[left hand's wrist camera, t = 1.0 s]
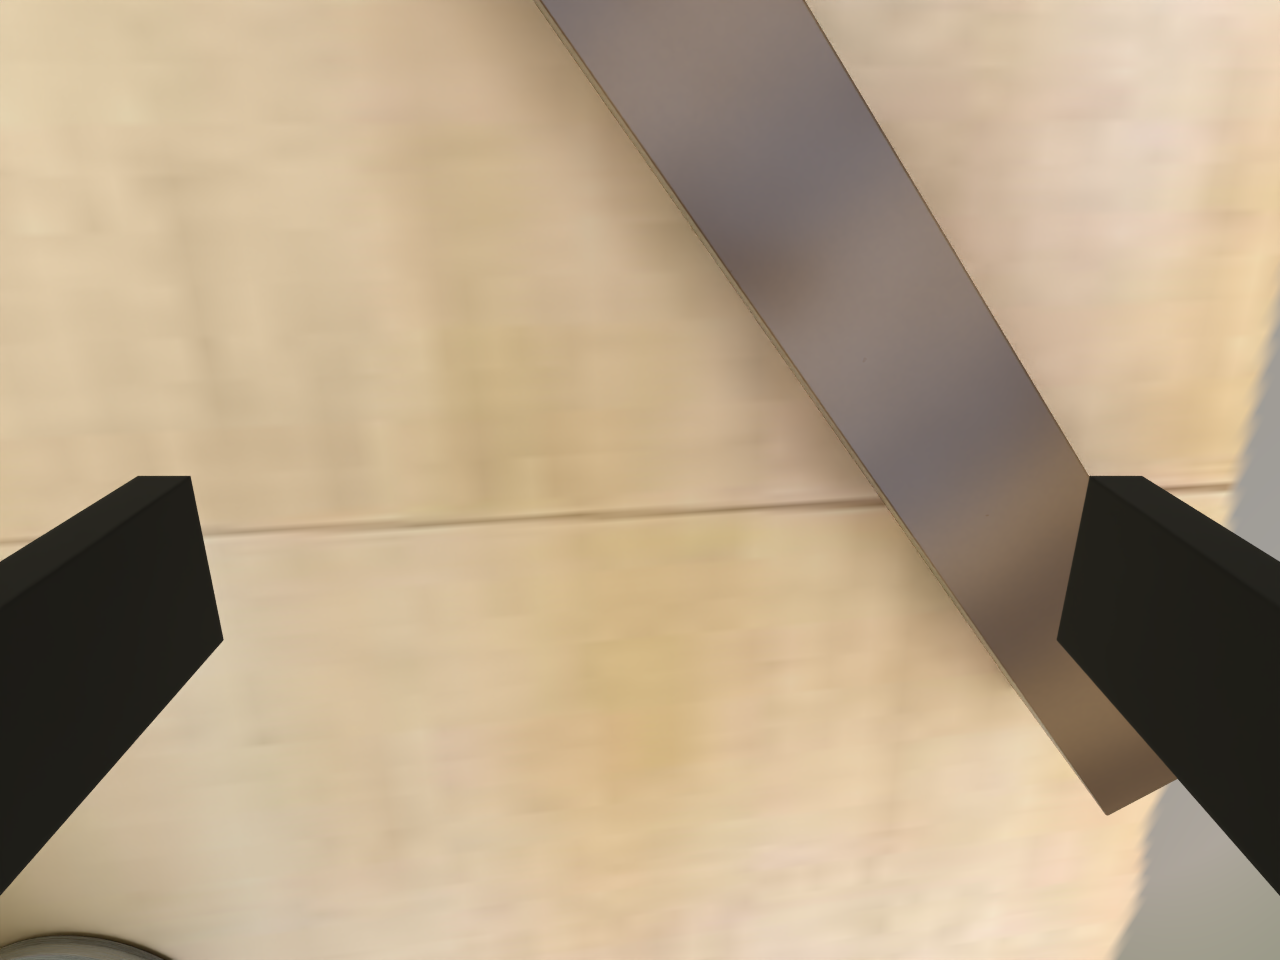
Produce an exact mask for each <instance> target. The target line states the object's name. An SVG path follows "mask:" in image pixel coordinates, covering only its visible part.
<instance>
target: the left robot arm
mask: <svg viewBox="0 0 1280 960" xmlns="http://www.w3.org/2000/svg"><path fill="white" fill-rule="evenodd" d="M222 641H223V635H222V630H221V625H220V620H219V615H218V610H217V605H216V600H215V595H214V590H213V585H212V580H211V575H210V570H209V565H208V560H207V556H206V551H205V546H204V541H203V536H202V531H201V526H200V521H199V516H198V511H197V506H196V501H195V496H194V491H193V486H192V481H191V476H137V477H136V478H134V479H132V480H131V481H129V482H128V483H126V484H124V485H123V486H121V487H120V488H118V489H116V490H115V491H113V492H112V493H110V494H108V495H107V496H105V497H103V498H102V499H100V500H99V501H97V502H95V503H94V504H92V505H91V506H89V507H87V508H86V509H84V510H83V511H81V512H79V513H78V514H76V515H75V516H73V517H71V518H70V519H68V520H67V521H65V522H63V523H62V524H60V525H59V526H57V527H55V528H54V529H52V530H50V531H49V532H47V533H46V534H44V535H42V536H41V537H39V538H38V539H36V540H34V541H33V542H31V543H30V544H28V545H26V546H25V547H23V548H22V549H20V550H18V551H17V552H15V553H14V554H12V555H10V556H9V557H7V558H6V559H4V560H2V561H1V562H0V895H1V894H2V893H3V892H4V891H5V890H6V888H7V887H8V886H9V885H10V884H11V883H12V882H13V880H14V879H15V878H16V877H17V876H18V875H19V874H20V872H21V871H22V870H23V869H24V868H25V867H26V866H27V864H28V863H29V862H30V861H31V860H32V859H33V858H34V856H35V855H36V854H37V853H38V852H39V851H40V850H41V848H42V847H43V846H44V845H45V844H46V843H47V841H48V840H49V839H50V838H51V837H52V836H53V835H54V833H55V832H56V831H57V830H58V829H59V828H60V827H61V825H62V824H63V823H64V822H65V821H66V820H67V819H68V817H69V816H70V815H71V814H72V813H73V812H74V811H75V809H76V808H77V807H78V806H79V805H80V804H81V803H82V801H83V800H84V799H85V798H86V797H87V796H88V795H89V793H90V792H91V791H92V790H93V789H94V788H95V787H96V785H97V784H98V783H99V782H100V781H101V780H102V779H103V777H104V776H105V775H106V774H107V773H108V772H109V771H110V769H111V768H112V767H113V766H114V765H115V764H116V763H117V761H118V760H119V759H120V758H121V757H122V756H123V755H124V753H125V752H126V751H127V750H128V749H129V748H130V747H131V745H132V744H133V743H134V742H135V741H136V740H137V739H138V737H139V736H140V735H141V734H142V733H143V732H144V730H145V729H146V728H147V727H148V726H149V725H150V724H151V722H152V721H153V720H154V719H155V718H156V717H157V716H158V714H159V713H160V712H161V711H162V710H163V709H164V708H165V706H166V705H167V704H168V703H169V702H170V701H171V700H172V698H173V697H174V696H175V695H176V694H177V693H178V692H179V690H180V689H181V688H182V687H183V686H184V685H185V684H186V682H187V681H188V680H189V679H190V678H191V677H192V676H193V674H194V673H195V672H196V671H197V670H198V669H199V668H200V666H201V665H202V664H203V663H204V662H205V661H206V660H207V658H208V657H209V656H210V655H211V654H212V653H213V652H214V650H215V649H216V648H217V647H218V646H219V645H220V644H221V642H222ZM1057 641H1058V642H1059V644H1060V645H1061V646H1062V647H1063V648H1064V649H1065V650H1066V652H1067V653H1068V654H1069V655H1070V656H1071V657H1072V658H1073V660H1074V661H1075V662H1076V663H1077V664H1078V665H1079V666H1080V668H1081V669H1082V670H1083V671H1084V672H1085V673H1086V674H1087V676H1088V677H1089V678H1090V679H1091V680H1092V681H1093V682H1094V684H1095V685H1096V686H1097V687H1098V688H1099V689H1100V690H1101V692H1102V693H1103V694H1104V695H1105V696H1106V697H1107V698H1108V700H1109V701H1110V702H1111V703H1112V704H1113V705H1114V706H1115V708H1116V709H1117V710H1118V711H1119V712H1120V713H1121V714H1122V716H1123V717H1124V718H1125V719H1126V720H1127V721H1128V722H1129V724H1130V725H1131V726H1132V727H1133V728H1134V729H1135V730H1136V732H1137V733H1138V734H1139V735H1140V736H1141V737H1142V739H1143V740H1144V741H1145V742H1146V743H1147V744H1148V745H1149V747H1150V748H1151V749H1152V750H1153V751H1154V752H1155V753H1156V755H1157V756H1158V757H1159V758H1160V759H1161V760H1162V761H1163V763H1164V764H1165V765H1166V766H1167V767H1168V768H1169V769H1170V771H1171V772H1172V773H1173V774H1174V775H1175V776H1176V777H1177V779H1178V780H1179V781H1180V782H1181V783H1182V784H1183V785H1184V786H1185V788H1186V789H1187V790H1188V791H1189V792H1190V793H1191V795H1192V796H1193V797H1194V798H1195V799H1196V800H1197V801H1198V803H1199V804H1200V805H1201V806H1202V807H1203V808H1204V809H1205V811H1206V812H1207V813H1208V814H1209V815H1210V816H1211V817H1212V819H1213V820H1214V821H1215V822H1216V823H1217V824H1218V825H1219V827H1220V828H1221V829H1222V830H1223V831H1224V832H1225V833H1226V835H1227V836H1228V837H1229V838H1230V839H1231V840H1232V841H1233V843H1234V844H1235V845H1236V846H1237V847H1238V848H1239V849H1240V851H1241V852H1242V853H1243V854H1244V855H1245V856H1246V857H1247V859H1248V860H1249V861H1250V862H1251V863H1252V864H1253V866H1254V867H1255V868H1256V869H1257V870H1258V871H1259V872H1260V874H1261V875H1262V876H1263V877H1264V878H1265V879H1266V880H1267V881H1268V883H1269V884H1270V885H1271V886H1272V887H1273V888H1274V890H1275V891H1276V892H1277V893H1278V894H1279V895H1280V562H1279V561H1278V560H1276V559H1274V558H1273V557H1271V556H1270V555H1268V554H1266V553H1265V552H1263V551H1262V550H1260V549H1258V548H1257V547H1255V546H1254V545H1252V544H1250V543H1249V542H1247V541H1245V540H1244V539H1242V538H1241V537H1239V536H1238V535H1236V534H1234V533H1233V532H1231V531H1230V530H1228V529H1226V528H1225V527H1223V526H1221V525H1220V524H1218V523H1217V522H1215V521H1213V520H1212V519H1210V518H1209V517H1207V516H1205V515H1204V514H1202V513H1201V512H1199V511H1197V510H1196V509H1194V508H1193V507H1191V506H1189V505H1188V504H1186V503H1185V502H1183V501H1181V500H1180V499H1178V498H1177V497H1175V496H1173V495H1172V494H1170V493H1168V492H1167V491H1165V490H1164V489H1162V488H1160V487H1159V486H1157V485H1156V484H1154V483H1152V482H1151V481H1149V480H1148V479H1146V478H1144V477H1143V476H1089V481H1088V486H1087V491H1086V496H1085V501H1084V506H1083V511H1082V516H1081V521H1080V526H1079V531H1078V536H1077V541H1076V546H1075V551H1074V556H1073V560H1072V565H1071V570H1070V575H1069V580H1068V585H1067V590H1066V595H1065V600H1064V605H1063V610H1062V615H1061V620H1060V625H1059V630H1058V635H1057ZM0 960H163V959H161V958H159V957H157V956H155V955H153V954H151V953H148V952H146V951H143V950H141V949H138V948H135V947H132V946H129V945H126V944H122V943H118V942H114V941H110V940H104V939H99V938H92V937H83V936H48V937H39V938H33V939H28V940H24V941H20V942H16V943H13V944H10V945H8V946H5V947H2V948H0Z"/></svg>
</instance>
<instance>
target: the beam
mask: <svg viewBox="0 0 1280 960" xmlns="http://www.w3.org/2000/svg"><path fill="white" fill-rule="evenodd" d="M533 1H534V2H535V3H536V5H537V6H538V8H539V9H540V11H541V12H542V13H543V15H544V16H545V18H546V19H547V21H548V22H549V24H550V25H551V26H552V28H553V29H554V31H555V32H556V34H557V35H558V36H559V38H560V39H561V41H562V42H563V44H564V45H565V46H566V48H567V49H568V51H569V52H570V54H571V55H572V56H573V58H574V59H575V61H576V62H577V64H578V65H579V67H580V68H581V69H582V71H583V72H584V74H585V75H586V77H587V78H588V79H589V81H590V82H591V84H592V85H593V87H594V88H595V89H596V91H597V92H598V94H599V95H600V97H601V98H602V99H603V101H604V102H605V104H606V105H607V107H608V108H609V109H610V111H611V112H612V114H613V115H614V117H615V118H616V120H617V121H618V122H619V124H620V125H621V127H622V128H623V130H624V131H625V132H626V134H627V135H628V137H629V138H630V140H631V141H632V142H633V144H634V145H635V147H636V148H637V150H638V151H639V152H640V154H641V155H642V157H643V158H644V160H645V161H646V163H647V164H648V165H649V167H650V168H651V170H652V171H653V173H654V174H655V175H656V177H657V178H658V180H659V181H660V183H661V184H662V185H663V187H664V188H665V190H666V191H667V193H668V194H669V195H670V197H671V198H672V200H673V201H674V203H675V204H676V205H677V207H678V208H679V210H680V211H681V213H682V214H683V216H684V217H685V218H686V220H687V221H688V223H689V224H690V226H691V227H692V228H693V230H694V231H695V233H696V234H697V236H698V237H699V238H700V240H701V241H702V243H703V244H704V246H705V247H706V248H707V250H708V251H709V253H710V254H711V256H712V257H713V259H714V260H715V261H716V263H717V264H718V266H719V267H720V269H721V270H722V271H723V273H724V274H725V276H726V277H727V279H728V280H729V281H730V283H731V284H732V286H733V287H734V289H735V290H736V291H737V293H738V294H739V296H740V297H741V299H742V300H743V302H744V303H745V304H746V306H747V307H748V309H749V310H750V312H751V313H752V314H753V316H754V317H755V319H756V320H757V322H758V323H759V324H760V326H761V327H762V329H763V330H764V332H765V333H766V334H767V336H768V337H769V339H770V340H771V342H772V343H773V344H774V346H775V347H776V349H777V350H778V352H779V353H780V355H781V356H782V357H783V359H784V360H785V362H786V363H787V365H788V366H789V367H790V369H791V370H792V372H793V373H794V375H795V376H796V377H797V379H798V380H799V382H800V383H801V385H802V386H803V387H804V389H805V390H806V392H807V393H808V395H809V396H810V398H811V399H812V400H813V402H814V403H815V405H816V406H817V408H818V409H819V410H820V412H821V413H822V415H823V416H824V418H825V419H826V420H827V422H828V423H829V425H830V426H831V428H832V429H833V430H834V432H835V433H836V435H837V436H838V438H839V439H840V441H841V442H842V443H843V445H844V446H845V448H846V449H847V451H848V452H849V453H850V455H851V456H852V458H853V459H854V461H855V462H856V463H857V465H858V466H859V468H860V469H861V471H862V472H863V473H864V475H865V476H866V478H867V479H868V481H869V482H870V483H871V485H872V486H873V488H874V489H875V491H876V492H877V494H878V495H879V496H880V498H881V499H882V501H883V502H884V504H885V505H886V506H887V508H888V509H889V511H890V512H891V514H892V515H893V516H894V518H895V519H896V521H897V522H898V524H899V525H900V526H901V528H902V529H903V531H904V532H905V534H906V535H907V537H908V538H909V539H910V541H911V542H912V544H913V545H914V547H915V548H916V549H917V551H918V552H919V554H920V555H921V557H922V558H923V559H924V561H925V562H926V564H927V565H928V567H929V568H930V569H931V571H932V572H933V574H934V575H935V577H936V578H937V580H938V581H939V582H940V584H941V585H942V587H943V588H944V590H945V591H946V592H947V594H948V595H949V597H950V598H951V600H952V601H953V602H954V604H955V605H956V607H957V608H958V610H959V611H960V612H961V614H962V615H963V617H964V618H965V620H966V621H967V622H968V624H969V625H970V627H971V628H972V630H973V631H974V633H975V634H976V635H977V637H978V638H979V640H980V641H981V643H982V644H983V645H984V647H985V648H986V650H987V651H988V653H989V654H990V655H991V657H992V658H993V660H994V661H995V663H996V664H997V665H998V667H999V668H1000V670H1001V671H1002V673H1003V674H1004V676H1005V677H1006V678H1007V680H1008V681H1009V683H1010V684H1011V686H1012V687H1013V688H1014V690H1015V691H1016V693H1017V694H1018V695H1019V697H1020V698H1021V699H1022V701H1023V702H1024V704H1025V705H1026V706H1027V708H1028V709H1029V710H1030V712H1031V713H1032V715H1033V716H1034V717H1035V719H1036V720H1037V721H1038V723H1039V724H1040V725H1041V727H1042V728H1043V730H1044V731H1045V732H1046V734H1047V735H1048V736H1049V738H1050V739H1051V741H1052V742H1053V743H1054V745H1055V746H1056V747H1057V749H1058V750H1059V752H1060V753H1061V754H1062V756H1063V757H1064V758H1065V760H1066V761H1067V762H1068V764H1069V765H1070V767H1071V768H1072V769H1073V771H1074V772H1075V773H1076V775H1077V776H1078V778H1079V779H1080V780H1081V782H1082V783H1083V784H1084V786H1085V787H1086V789H1087V790H1088V791H1089V793H1090V794H1091V795H1092V797H1093V798H1094V800H1095V801H1096V802H1097V804H1098V805H1099V806H1100V808H1101V809H1102V810H1103V812H1104V813H1105V814H1106V815H1110V814H1112V813H1114V812H1115V811H1117V810H1119V809H1121V808H1123V807H1125V806H1127V805H1129V804H1131V803H1133V802H1134V801H1136V800H1138V799H1140V798H1142V797H1144V796H1146V795H1148V794H1150V793H1151V792H1153V791H1155V790H1157V789H1159V788H1161V787H1163V786H1165V785H1167V784H1169V783H1170V782H1172V781H1174V780H1176V779H1177V777H1176V776H1175V775H1174V774H1173V773H1172V772H1171V771H1170V769H1169V768H1168V767H1167V766H1166V765H1165V764H1164V763H1163V761H1162V760H1161V759H1160V758H1159V757H1158V756H1157V755H1156V753H1155V752H1154V751H1153V750H1152V749H1151V748H1150V747H1149V745H1148V744H1147V743H1146V742H1145V741H1144V740H1143V739H1142V737H1141V736H1140V735H1139V734H1138V733H1137V732H1136V730H1135V729H1134V728H1133V727H1132V726H1131V725H1130V724H1129V722H1128V721H1127V720H1126V719H1125V718H1124V717H1123V716H1122V714H1121V713H1120V712H1119V711H1118V710H1117V709H1116V708H1115V706H1114V705H1113V704H1112V703H1111V702H1110V701H1109V700H1108V698H1107V697H1106V696H1105V695H1104V694H1103V693H1102V692H1101V690H1100V689H1099V688H1098V687H1097V686H1096V685H1095V684H1094V682H1093V681H1092V680H1091V679H1090V678H1089V677H1088V676H1087V674H1086V673H1085V672H1084V671H1083V670H1082V669H1081V668H1080V666H1079V665H1078V664H1077V663H1076V662H1075V661H1074V660H1073V658H1072V657H1071V656H1070V655H1069V654H1068V653H1067V652H1066V650H1065V649H1064V648H1063V647H1062V646H1061V645H1060V644H1059V642H1058V641H1057V635H1058V630H1059V625H1060V620H1061V615H1062V610H1063V605H1064V600H1065V595H1066V590H1067V585H1068V580H1069V575H1070V570H1071V565H1072V560H1073V556H1074V551H1075V546H1076V541H1077V536H1078V531H1079V526H1080V521H1081V516H1082V511H1083V506H1084V501H1085V496H1086V491H1087V486H1088V481H1089V476H1088V474H1087V472H1086V471H1085V469H1084V467H1083V465H1082V464H1081V462H1080V460H1079V459H1078V457H1077V455H1076V454H1075V452H1074V450H1073V449H1072V447H1071V445H1070V444H1069V442H1068V440H1067V439H1066V437H1065V435H1064V434H1063V432H1062V430H1061V429H1060V427H1059V425H1058V424H1057V422H1056V420H1055V419H1054V417H1053V415H1052V414H1051V412H1050V410H1049V409H1048V407H1047V405H1046V404H1045V402H1044V400H1043V399H1042V397H1041V395H1040V393H1039V392H1038V390H1037V388H1036V387H1035V385H1034V383H1033V382H1032V380H1031V378H1030V377H1029V375H1028V373H1027V372H1026V370H1025V368H1024V367H1023V365H1022V363H1021V362H1020V360H1019V358H1018V357H1017V355H1016V353H1015V352H1014V350H1013V348H1012V347H1011V345H1010V343H1009V342H1008V340H1007V338H1006V337H1005V335H1004V333H1003V332H1002V330H1001V328H1000V327H999V325H998V323H997V322H996V320H995V318H994V316H993V315H992V313H991V311H990V310H989V308H988V306H987V305H986V303H985V301H984V300H983V298H982V296H981V295H980V293H979V291H978V290H977V288H976V286H975V285H974V283H973V281H972V280H971V278H970V276H969V275H968V273H967V271H966V270H965V268H964V266H963V265H962V263H961V261H960V260H959V258H958V256H957V255H956V253H955V251H954V250H953V248H952V246H951V244H950V243H949V241H948V239H947V238H946V236H945V234H944V233H943V231H942V229H941V228H940V226H939V224H938V223H937V221H936V219H935V218H934V216H933V214H932V213H931V211H930V209H929V208H928V206H927V204H926V203H925V201H924V199H923V198H922V196H921V194H920V193H919V191H918V189H917V188H916V186H915V184H914V183H913V181H912V179H911V178H910V176H909V174H908V173H907V171H906V169H905V167H904V166H903V164H902V162H901V161H900V159H899V157H898V156H897V154H896V152H895V151H894V149H893V147H892V146H891V144H890V142H889V141H888V139H887V137H886V136H885V134H884V132H883V131H882V129H881V127H880V126H879V124H878V122H877V121H876V119H875V117H874V116H873V114H872V112H871V111H870V109H869V107H868V106H867V104H866V102H865V101H864V99H863V97H862V95H861V94H860V92H859V90H858V89H857V87H856V85H855V84H854V82H853V80H852V79H851V77H850V75H849V74H848V72H847V70H846V69H845V67H844V65H843V64H842V62H841V60H840V59H839V57H838V55H837V54H836V52H835V50H834V49H833V47H832V45H831V44H830V42H829V40H828V39H827V37H826V35H825V34H824V32H823V30H822V29H821V27H820V25H819V24H818V22H817V20H816V18H815V17H814V15H813V13H812V12H811V10H810V8H809V7H808V5H807V3H806V2H805V0H533Z"/></svg>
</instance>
